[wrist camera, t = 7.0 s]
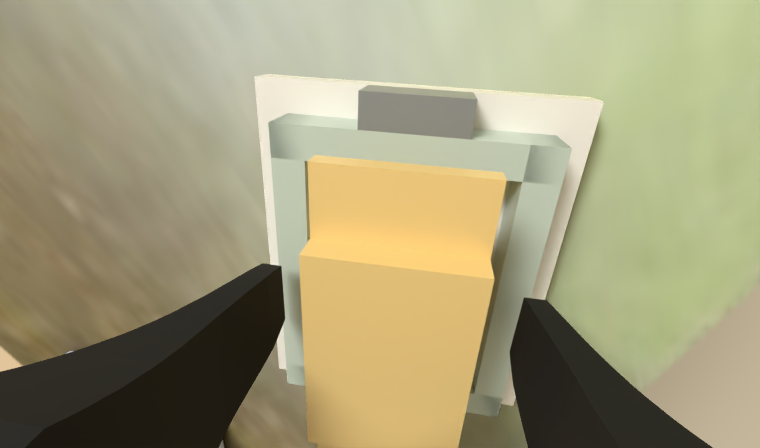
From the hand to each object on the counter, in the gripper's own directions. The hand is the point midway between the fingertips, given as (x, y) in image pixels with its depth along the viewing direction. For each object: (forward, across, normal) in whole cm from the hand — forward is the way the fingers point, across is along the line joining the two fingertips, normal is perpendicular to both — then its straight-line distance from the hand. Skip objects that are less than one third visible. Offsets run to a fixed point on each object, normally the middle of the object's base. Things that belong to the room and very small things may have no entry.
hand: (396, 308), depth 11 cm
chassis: (+3, 0, 0) cm, 3 cm away
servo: (+2, 0, 0) cm, 2 cm away
